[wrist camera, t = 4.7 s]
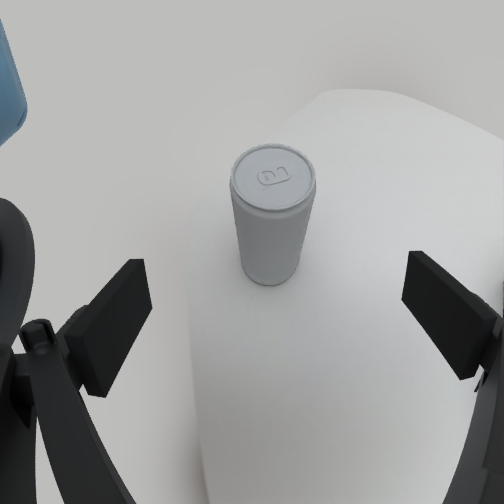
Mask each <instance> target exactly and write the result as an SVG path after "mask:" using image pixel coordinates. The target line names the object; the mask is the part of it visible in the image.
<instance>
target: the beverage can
mask: <svg viewBox="0 0 504 504" xmlns="http://www.w3.org/2000/svg"><path fill="white" fill-rule="evenodd" d="M230 192H231V198H232V205H233V211H234V217H235V224H236V230H237V236H238V243H239V249H240V255H241V261H242V266H243V269H244V271H245V273H246V274H247V275H248V276H249V277H250V278H251V279H252V280H254V281H255V282H257V283H260V284H263V285H277V284H280V283H282V282H284V281H285V280H287V279H288V278H289V277H290V276H291V275H292V274H293V272H294V271H295V270H296V267H297V264H298V261H299V257H300V253H301V249H302V245H303V241H304V237H305V233H306V229H307V225H308V221H309V217H310V213H311V209H312V205H313V201H314V196H315V192H316V179H315V171H314V169H313V166H312V164H311V162H310V161H309V160H308V159H307V157H306V156H304V155H303V154H302V153H301V152H299V151H298V150H296V149H294V148H291V147H289V146H285V145H281V144H265V145H259V146H256V147H253V148H251V149H249V150H247V151H246V152H244V153H243V154H242V155H241V156H240V157H239V158H238V159H237V160H236V161H235V163H234V165H233V167H232V172H231V178H230Z"/></svg>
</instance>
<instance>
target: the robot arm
mask: <svg viewBox="0 0 504 504" xmlns="http://www.w3.org/2000/svg"><path fill="white" fill-rule="evenodd" d="M26 116H27V102H26V98H25V94H24V91H23V88H22V85H21V81H20V78H19V75H18V72H17V69H16V66H15V63H14V59H13V56H12V53H11V50H10V47H9V43H8V40H7V37H6V34H5V31H4V28H3V25H2V23H1V20H0V146H1V145H2V144H3V143H4V142H6V141H7V140H8V138H10V137H11V136H12V135H13V134H14V133H16V132H17V131H18V130H19V129H20V128H21V126H22V125H23V123H24V121H25V119H26ZM1 270H2V246H1V241H0V277H1ZM401 300H402V301H403V303H404V304H405V305H406V306H407V308H408V309H409V310H410V312H411V313H412V314H413V316H414V317H415V318H416V319H417V321H418V322H419V323H420V325H421V326H422V327H423V329H424V330H425V332H426V333H427V334H428V336H429V337H430V338H431V340H432V341H433V342H434V344H435V345H436V347H437V348H438V349H439V351H440V352H441V354H442V355H443V356H444V358H445V359H446V361H447V362H448V364H449V365H450V366H451V368H452V369H453V371H454V372H455V374H456V375H457V377H458V378H459V380H464V379H467V378H471V377H474V376H475V374H476V372H477V369H478V367H479V365H481V366H482V367H483V369H484V372H483V374H482V376H481V378H480V380H479V382H478V385H477V387H476V389H475V391H474V392H477V390H478V394H477V399H476V403H475V408H474V412H473V416H472V420H471V423H470V427H469V431H468V434H467V438H466V441H465V444H464V448H463V451H462V454H461V457H460V460H459V463H458V466H457V468H456V471H455V474H454V477H453V479H452V482H451V484H450V487H449V489H448V492H447V494H446V497H445V499H444V501H443V504H504V319H503V318H502V317H501V316H500V315H499V314H498V313H497V312H495V311H494V310H493V309H492V308H491V307H490V306H489V305H488V304H487V303H485V301H483V300H482V299H481V298H480V297H479V296H478V295H476V294H474V293H472V292H470V291H469V290H468V289H467V288H466V287H464V286H463V285H462V284H461V283H460V282H459V281H458V280H456V279H455V278H454V277H453V276H452V275H451V274H449V273H448V272H447V271H446V270H445V269H443V268H442V267H441V266H440V265H439V264H437V263H436V262H435V261H434V260H432V259H431V258H430V257H429V256H428V255H426V254H425V253H424V252H423V251H409V256H408V263H407V269H406V276H405V282H404V288H403V293H402V299H401ZM151 310H152V304H151V298H150V293H149V288H148V282H147V277H146V271H145V265H144V259H129V260H128V261H127V262H126V263H125V264H124V266H123V267H122V268H121V269H120V270H119V271H118V272H117V273H116V274H115V275H114V277H113V278H112V279H111V280H110V281H109V282H108V283H107V284H106V285H105V287H104V288H103V289H102V290H101V291H100V292H99V293H98V294H97V296H96V297H95V298H94V299H93V300H92V301H91V302H90V304H89V305H84V306H83V307H81V308H79V309H78V310H77V311H75V312H74V313H73V315H72V316H71V317H70V319H68V320H67V321H66V323H65V324H64V325H63V326H62V328H60V330H59V331H58V332H57V333H56V334H55V333H54V331H53V328H52V325H51V323H50V321H49V320H47V319H36V320H32V321H30V322H28V323H26V324H25V325H23V326H22V327H21V328H20V330H19V332H18V335H19V337H20V340H21V342H22V344H23V347H24V349H25V351H26V353H23V354H14V352H13V350H12V348H11V346H10V345H9V344H6V343H0V504H37V501H36V480H35V444H36V423H37V417H38V421H39V425H40V429H41V433H42V437H43V441H44V444H45V448H46V452H47V455H48V458H49V462H50V465H51V468H52V471H53V474H54V477H55V480H56V482H57V485H58V488H59V491H60V493H61V496H62V499H63V501H64V504H136V502H135V501H134V499H133V498H132V496H131V494H130V493H129V491H128V489H127V488H126V486H125V484H124V483H123V481H122V479H121V477H120V476H119V474H118V472H117V470H116V468H115V467H114V465H113V463H112V461H111V459H110V457H109V455H108V453H107V451H106V449H105V447H104V445H103V443H102V441H101V439H100V437H99V435H98V433H97V431H96V429H95V426H94V424H93V422H92V420H91V417H90V415H89V413H88V411H87V408H86V406H85V403H84V401H83V399H82V396H81V394H80V392H79V390H80V388H81V386H82V384H83V385H84V387H85V389H86V391H87V393H88V395H91V396H97V397H103V398H106V396H107V394H108V392H109V390H110V388H111V386H112V384H113V382H114V380H115V378H116V376H117V374H118V372H119V370H120V368H121V366H122V364H123V362H124V361H125V359H126V357H127V355H128V353H129V351H130V349H131V347H132V345H133V343H134V341H135V339H136V338H137V336H138V334H139V332H140V330H141V328H142V326H143V324H144V323H145V321H146V319H147V317H148V315H149V314H150V312H151Z"/></svg>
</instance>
